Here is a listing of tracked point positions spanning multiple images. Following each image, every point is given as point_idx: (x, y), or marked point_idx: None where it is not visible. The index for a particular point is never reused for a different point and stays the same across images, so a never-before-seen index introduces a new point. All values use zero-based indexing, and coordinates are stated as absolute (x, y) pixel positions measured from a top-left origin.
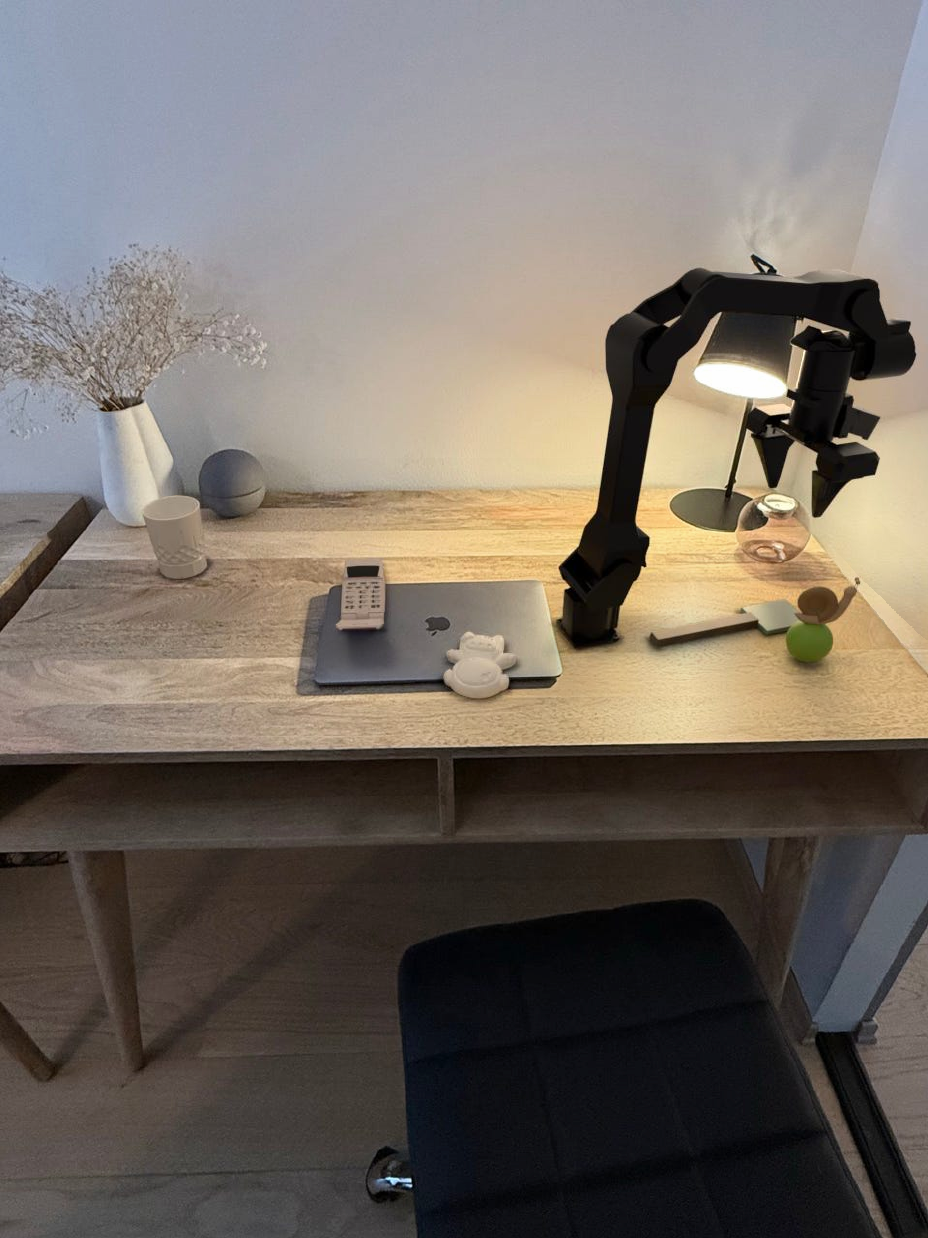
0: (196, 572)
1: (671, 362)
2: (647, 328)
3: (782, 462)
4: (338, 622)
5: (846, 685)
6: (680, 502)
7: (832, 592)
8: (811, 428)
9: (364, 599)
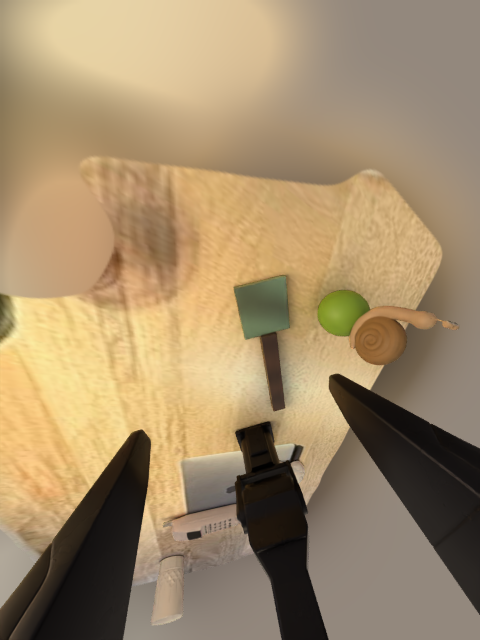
0: (179, 557)
1: None
2: None
3: (94, 548)
4: None
5: (374, 283)
6: None
7: (406, 340)
8: None
9: (222, 524)
